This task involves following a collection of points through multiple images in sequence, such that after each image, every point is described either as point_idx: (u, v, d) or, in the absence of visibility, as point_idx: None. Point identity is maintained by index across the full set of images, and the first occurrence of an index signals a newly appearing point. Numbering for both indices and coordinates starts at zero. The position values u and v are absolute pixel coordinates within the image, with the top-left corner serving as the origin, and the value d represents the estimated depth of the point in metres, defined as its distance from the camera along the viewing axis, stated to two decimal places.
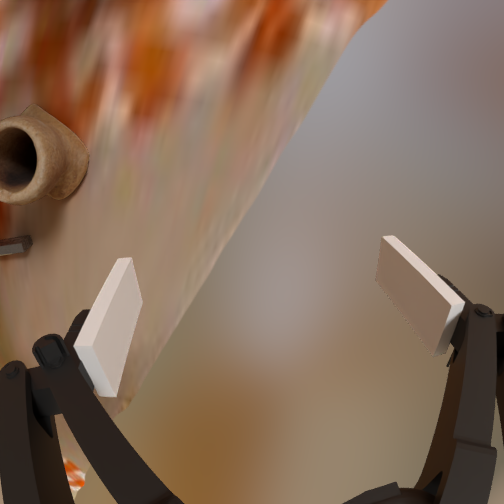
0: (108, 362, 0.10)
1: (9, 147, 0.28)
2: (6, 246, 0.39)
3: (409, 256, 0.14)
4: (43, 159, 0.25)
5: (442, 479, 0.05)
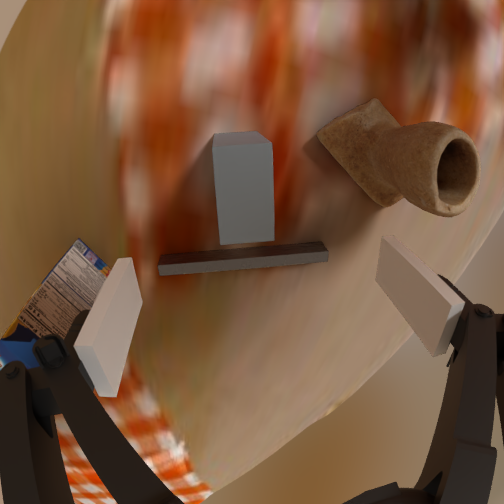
0: (108, 362, 0.10)
1: None
2: (302, 254, 0.41)
3: (409, 256, 0.14)
4: (479, 180, 0.27)
5: (442, 479, 0.05)
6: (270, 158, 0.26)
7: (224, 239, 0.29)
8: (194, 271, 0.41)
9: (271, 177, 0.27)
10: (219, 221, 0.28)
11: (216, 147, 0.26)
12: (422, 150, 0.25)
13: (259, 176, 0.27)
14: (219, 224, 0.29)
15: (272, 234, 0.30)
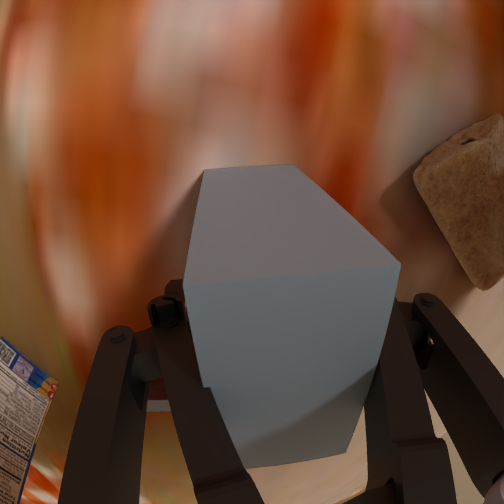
0: None
1: None
2: None
3: None
4: None
5: (396, 486, 0.05)
6: (385, 311, 0.08)
7: None
8: None
9: (375, 357, 0.08)
10: None
11: (200, 287, 0.07)
12: None
13: (341, 359, 0.08)
14: None
15: (344, 446, 0.11)
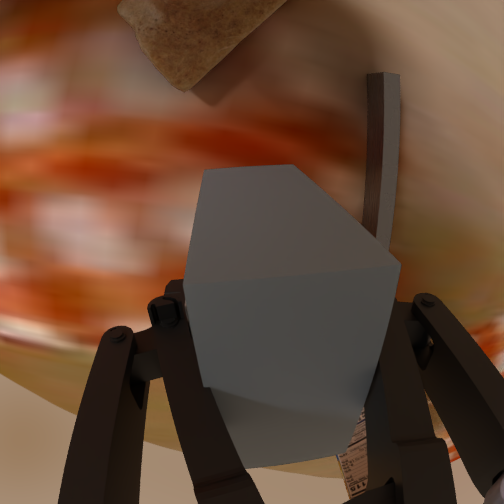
0: None
1: None
2: (385, 115, 0.21)
3: None
4: None
5: (396, 486, 0.05)
6: (385, 311, 0.08)
7: None
8: None
9: (375, 357, 0.08)
10: None
11: (200, 287, 0.07)
12: None
13: (341, 359, 0.08)
14: None
15: (344, 446, 0.11)
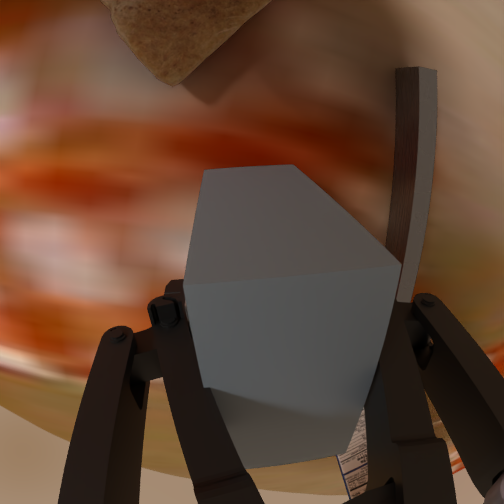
0: None
1: None
2: (420, 119, 0.17)
3: None
4: None
5: (396, 486, 0.05)
6: (386, 311, 0.08)
7: None
8: (408, 302, 0.23)
9: (375, 357, 0.08)
10: None
11: (200, 287, 0.07)
12: None
13: (341, 359, 0.08)
14: None
15: (344, 447, 0.11)
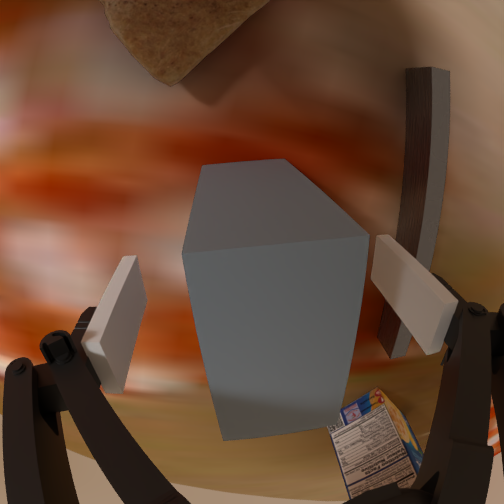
0: (115, 358, 0.11)
1: None
2: (433, 122, 0.16)
3: (403, 255, 0.14)
4: None
5: (439, 479, 0.05)
6: (359, 278, 0.09)
7: (232, 434, 0.12)
8: None
9: (354, 323, 0.10)
10: (218, 412, 0.11)
11: (196, 255, 0.08)
12: None
13: (322, 323, 0.10)
14: (219, 415, 0.11)
15: (335, 417, 0.12)
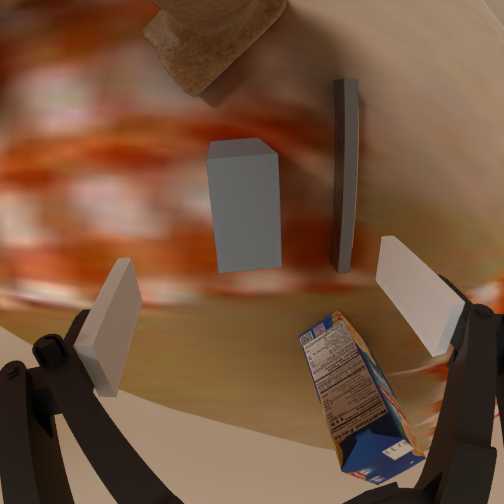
0: (108, 362, 0.10)
1: None
2: (346, 111, 0.29)
3: (409, 256, 0.14)
4: None
5: (442, 479, 0.05)
6: (276, 172, 0.22)
7: (223, 267, 0.25)
8: (351, 236, 0.35)
9: (277, 194, 0.23)
10: (217, 246, 0.24)
11: (211, 160, 0.22)
12: None
13: (263, 193, 0.23)
14: (217, 250, 0.25)
15: (279, 260, 0.25)
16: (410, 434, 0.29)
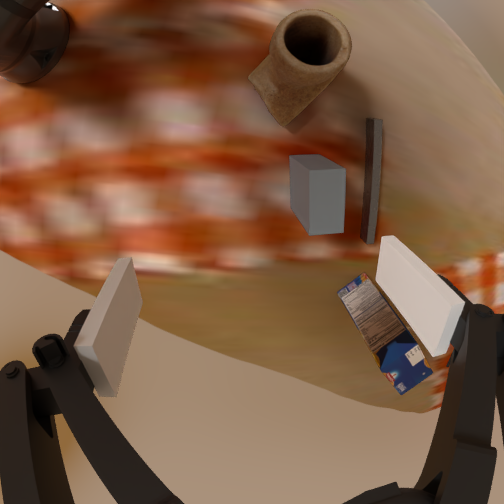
0: (108, 362, 0.10)
1: None
2: (374, 140, 0.47)
3: (409, 256, 0.14)
4: (317, 10, 0.29)
5: (442, 479, 0.05)
6: (344, 178, 0.40)
7: (312, 231, 0.43)
8: (375, 219, 0.53)
9: (344, 191, 0.41)
10: (310, 219, 0.42)
11: (312, 170, 0.39)
12: (298, 77, 0.32)
13: (336, 190, 0.41)
14: (310, 221, 0.42)
15: (342, 228, 0.43)
16: None
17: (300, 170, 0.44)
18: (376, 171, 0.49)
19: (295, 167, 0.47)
